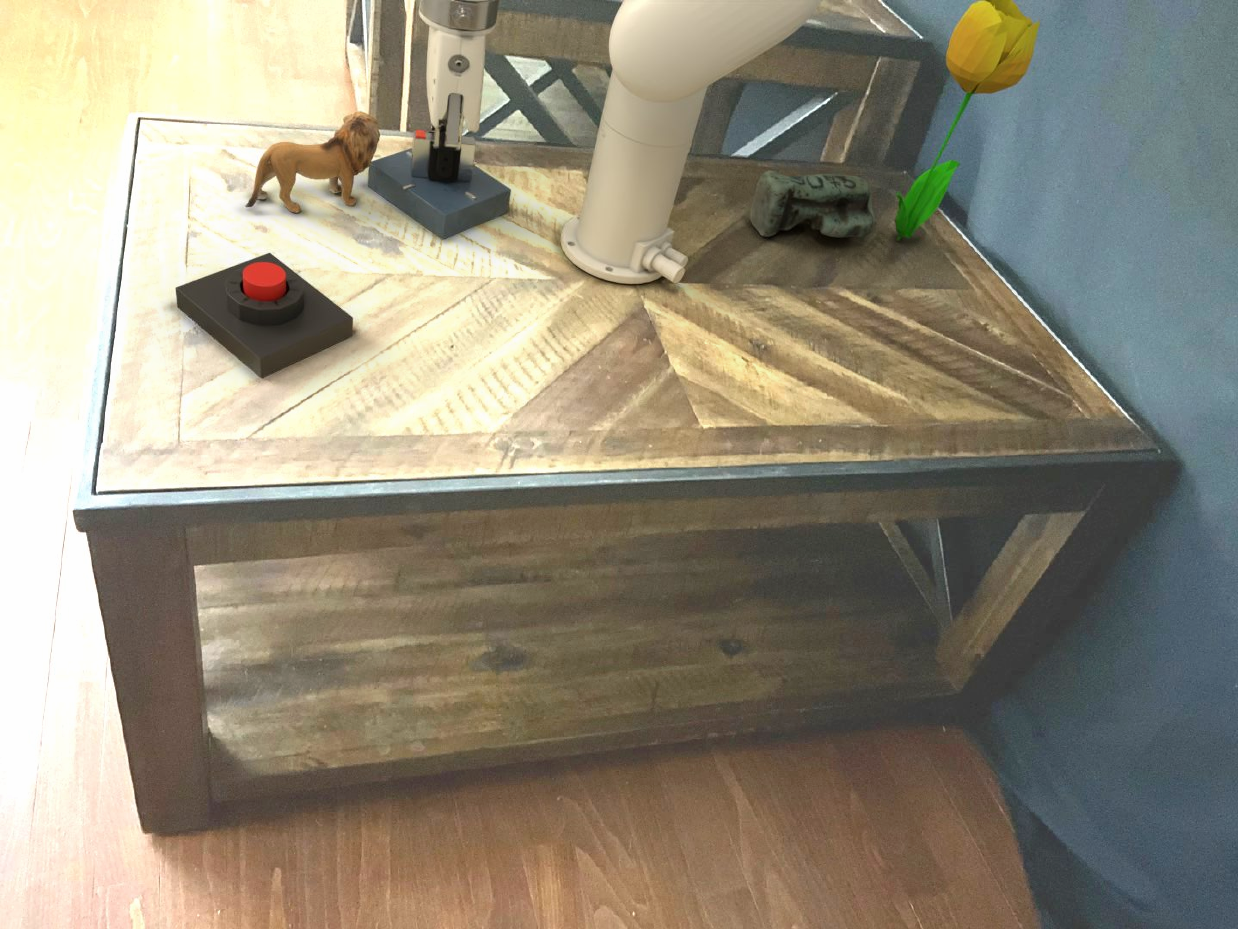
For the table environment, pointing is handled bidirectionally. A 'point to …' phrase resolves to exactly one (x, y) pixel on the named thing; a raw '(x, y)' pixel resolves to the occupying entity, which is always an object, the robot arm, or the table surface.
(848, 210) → the sculpture
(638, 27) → the robot arm
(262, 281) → the red button
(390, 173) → the panel
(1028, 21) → the flower
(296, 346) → the button box
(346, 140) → the lion figurine
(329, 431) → the table surface
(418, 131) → the tap handle
